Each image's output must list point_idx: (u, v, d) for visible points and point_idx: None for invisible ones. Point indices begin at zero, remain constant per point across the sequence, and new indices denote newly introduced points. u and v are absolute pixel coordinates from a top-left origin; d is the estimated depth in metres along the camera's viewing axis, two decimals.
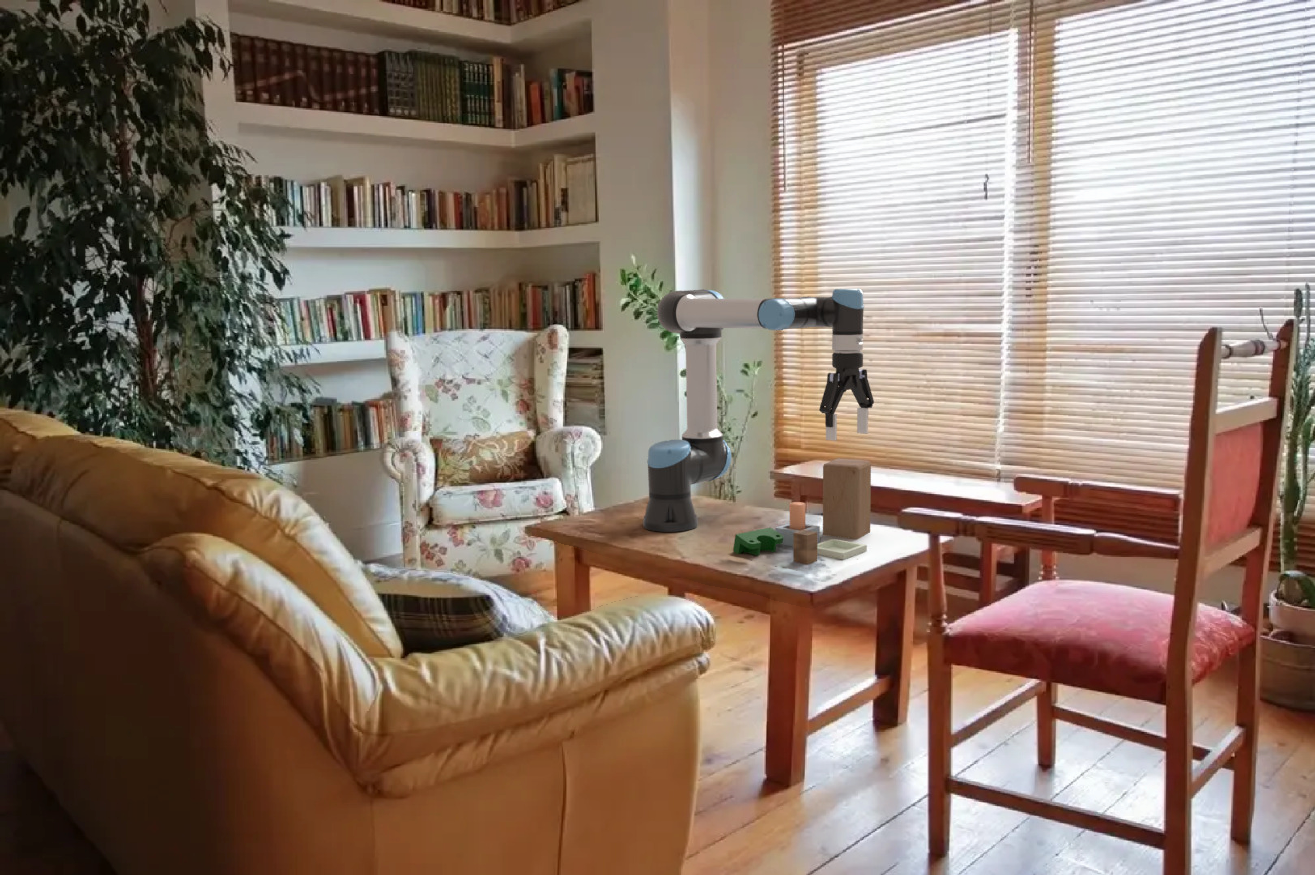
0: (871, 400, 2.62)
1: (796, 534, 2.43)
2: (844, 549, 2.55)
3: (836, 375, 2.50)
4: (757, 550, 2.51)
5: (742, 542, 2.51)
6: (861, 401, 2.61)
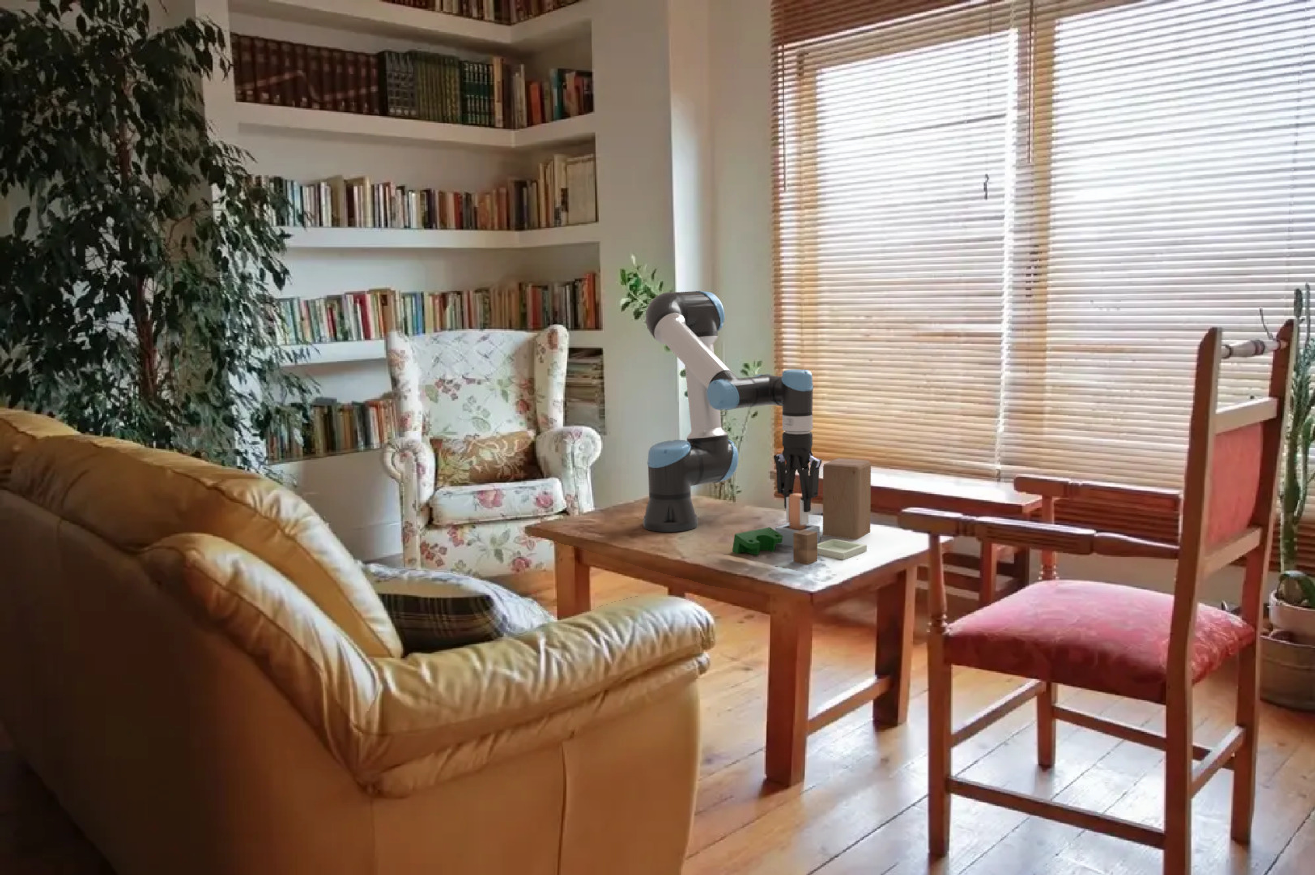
0: (809, 493, 2.56)
1: (796, 534, 2.43)
2: (844, 549, 2.55)
3: (774, 457, 2.63)
4: (756, 550, 2.51)
5: (741, 542, 2.51)
6: None
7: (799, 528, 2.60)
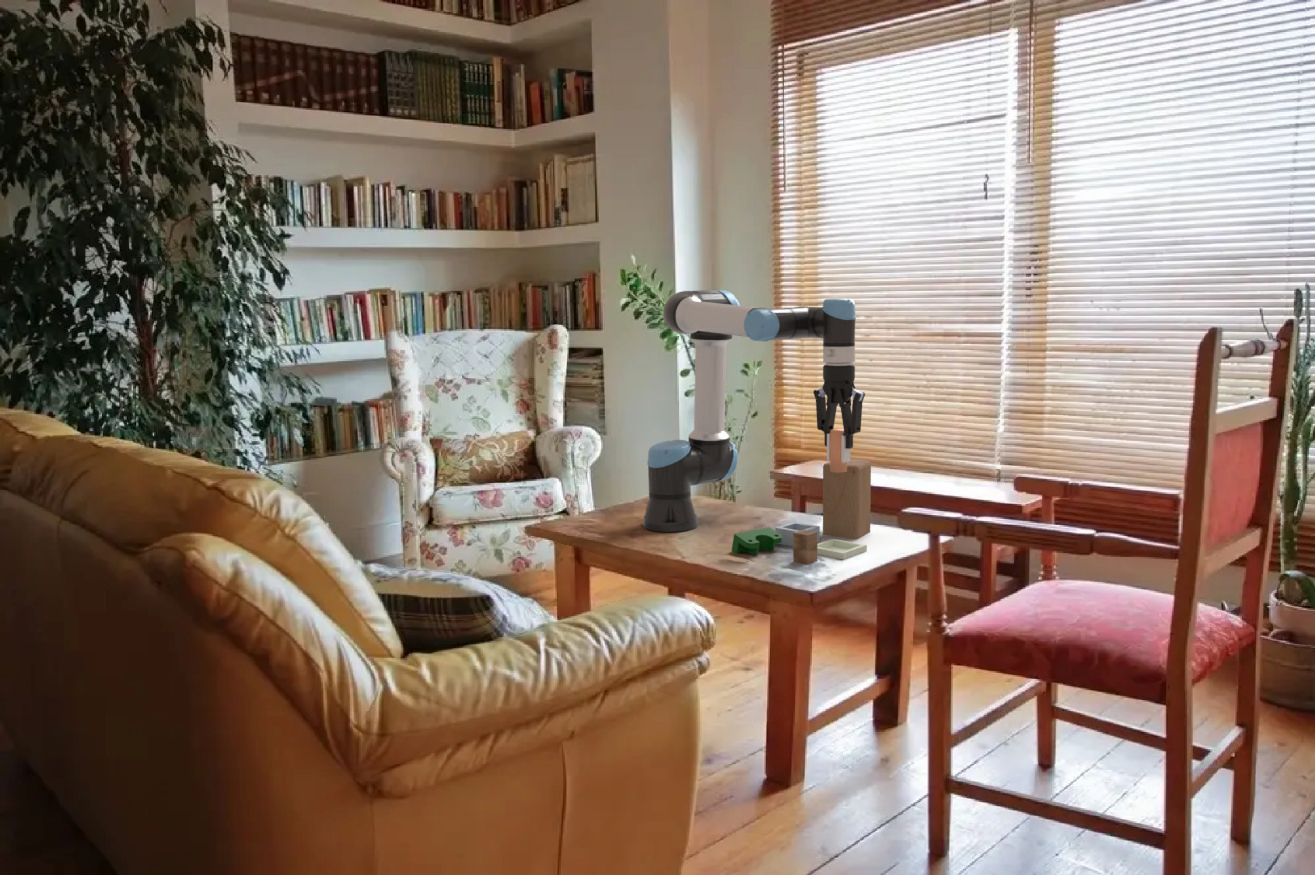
0: (852, 428, 2.44)
1: (796, 534, 2.43)
2: (844, 549, 2.55)
3: (814, 392, 2.50)
4: (756, 549, 2.51)
5: (741, 541, 2.51)
6: None
7: (841, 465, 2.47)
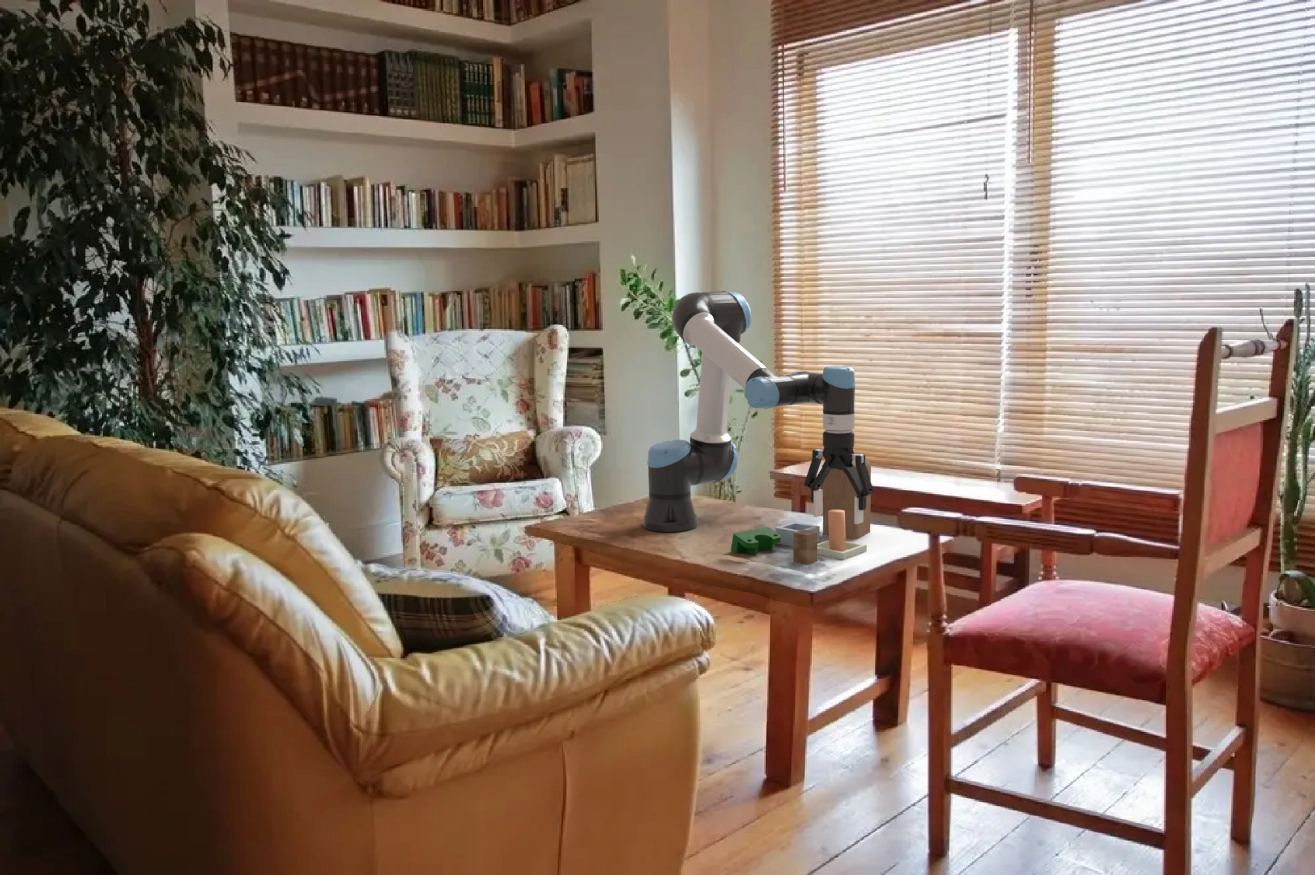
0: (864, 491, 2.44)
1: (796, 534, 2.43)
2: None
3: (813, 451, 2.53)
4: (755, 549, 2.52)
5: (740, 541, 2.52)
6: None
7: (840, 545, 2.51)
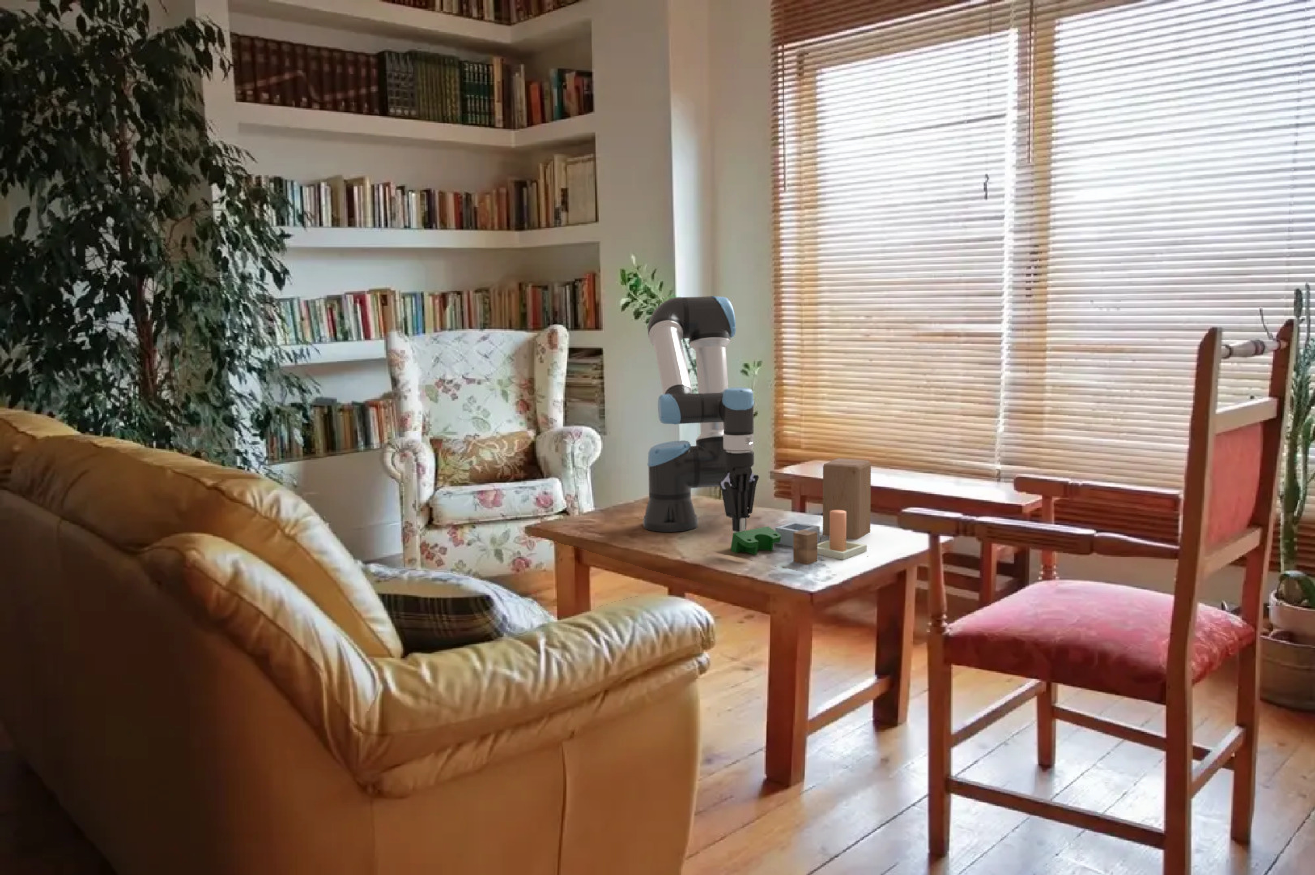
0: (750, 508, 2.59)
1: (796, 534, 2.43)
2: None
3: (726, 485, 2.51)
4: (754, 549, 2.52)
5: (740, 541, 2.52)
6: (741, 507, 2.58)
7: (840, 546, 2.51)
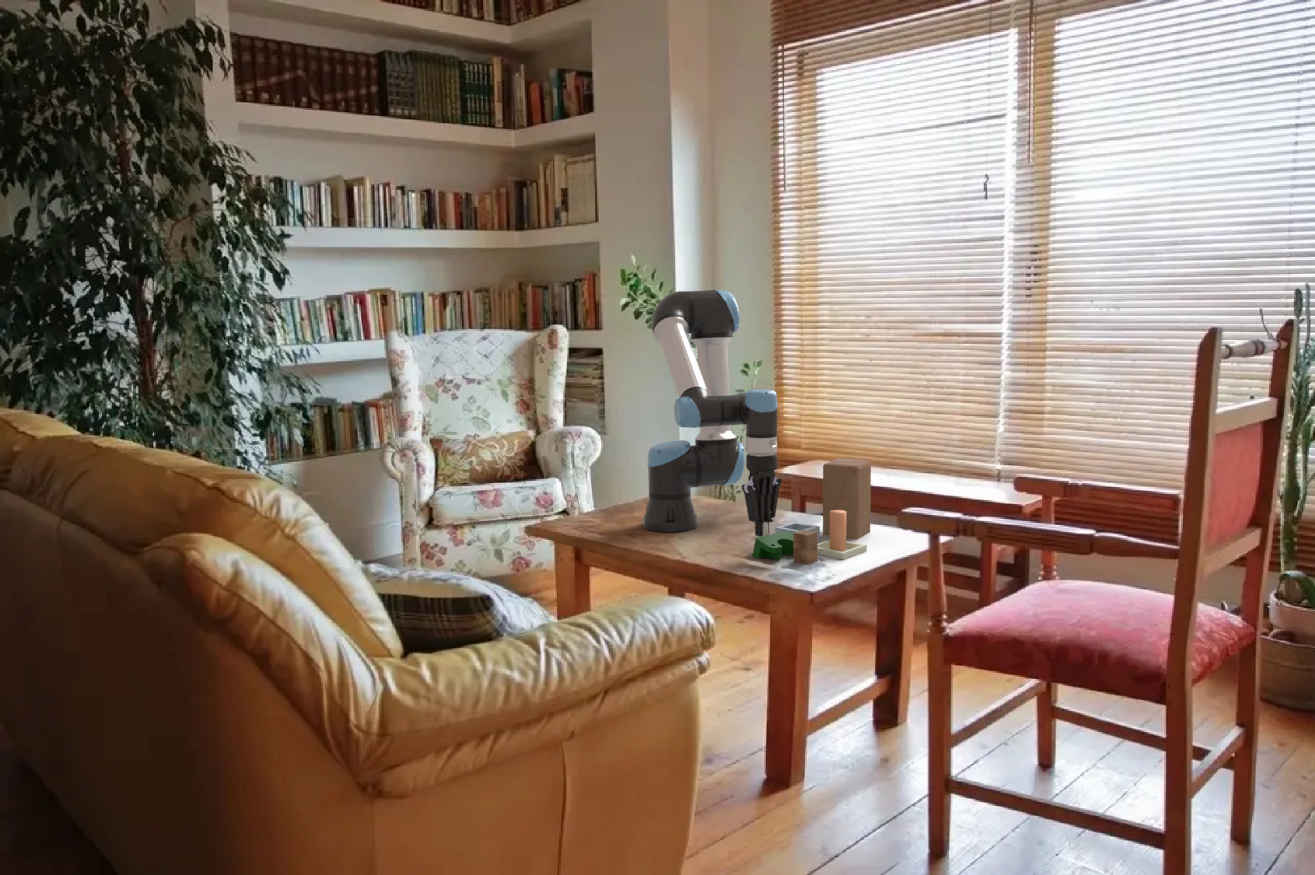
0: (773, 512, 2.54)
1: (796, 534, 2.43)
2: None
3: (750, 488, 2.46)
4: (778, 554, 2.46)
5: (763, 546, 2.46)
6: (764, 511, 2.53)
7: (840, 546, 2.51)
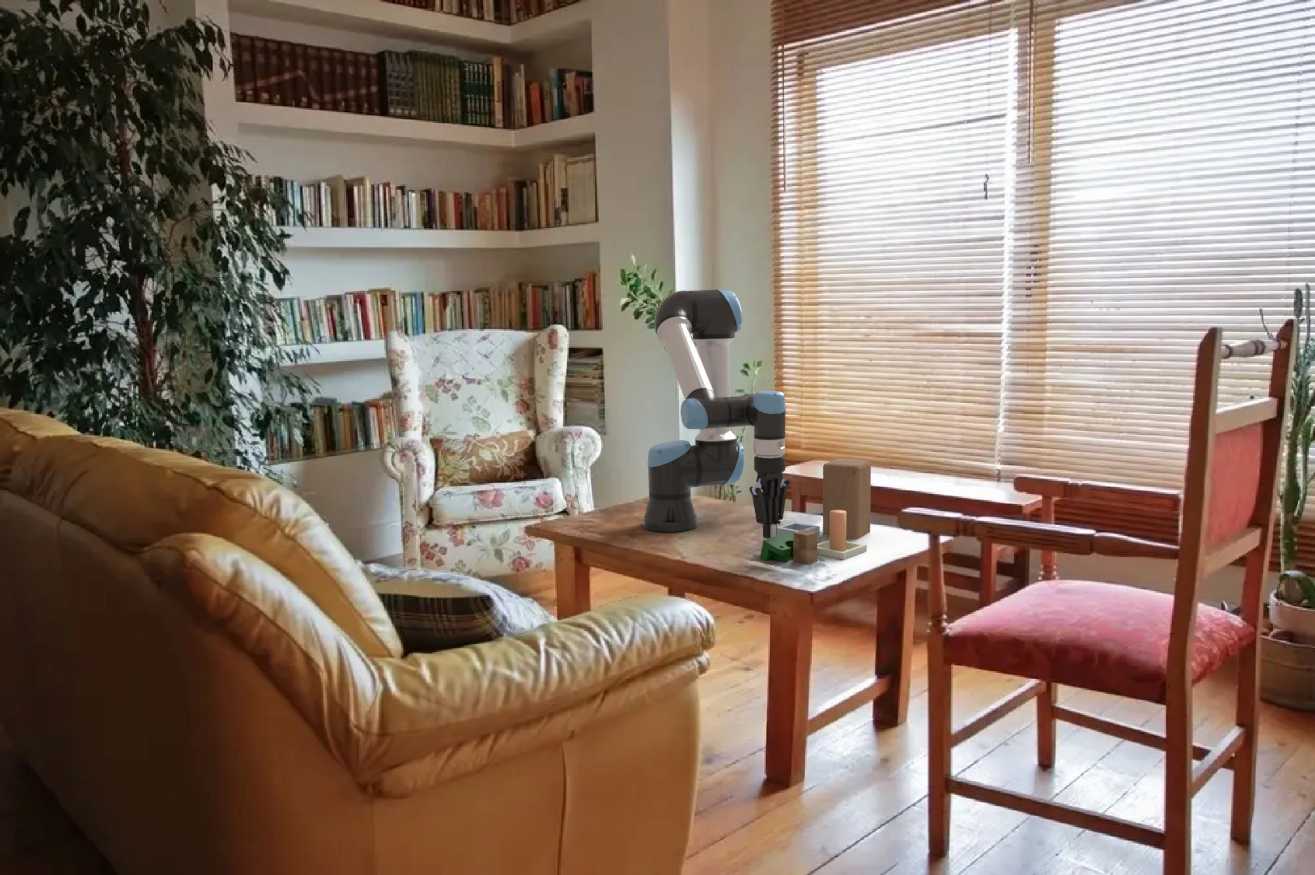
0: (781, 514, 2.52)
1: (796, 534, 2.43)
2: None
3: (758, 490, 2.45)
4: (787, 556, 2.45)
5: (771, 548, 2.44)
6: (772, 513, 2.51)
7: (840, 546, 2.51)
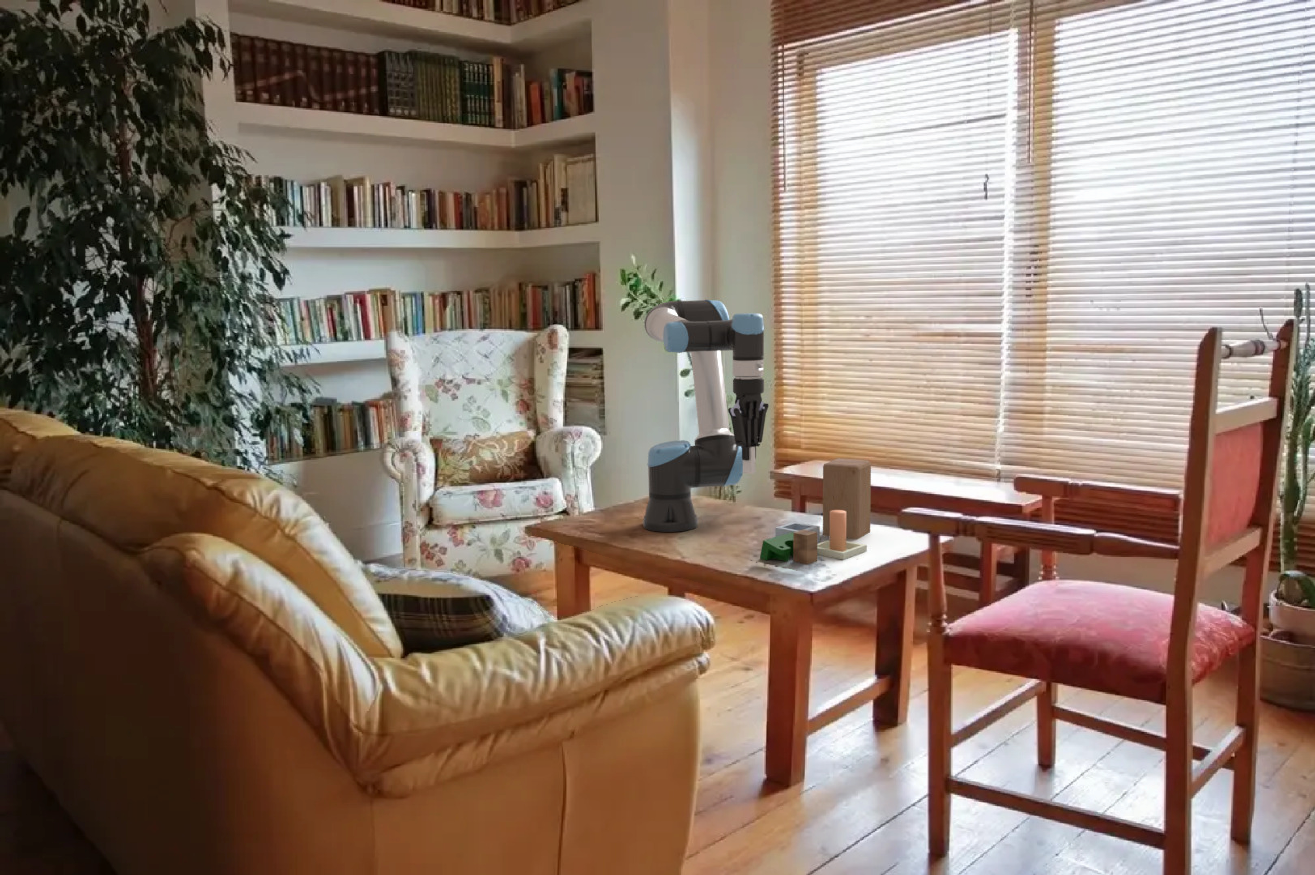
0: (760, 437, 2.54)
1: (796, 534, 2.43)
2: None
3: (736, 411, 2.46)
4: (786, 556, 2.45)
5: (771, 548, 2.45)
6: (751, 436, 2.53)
7: (840, 546, 2.51)
